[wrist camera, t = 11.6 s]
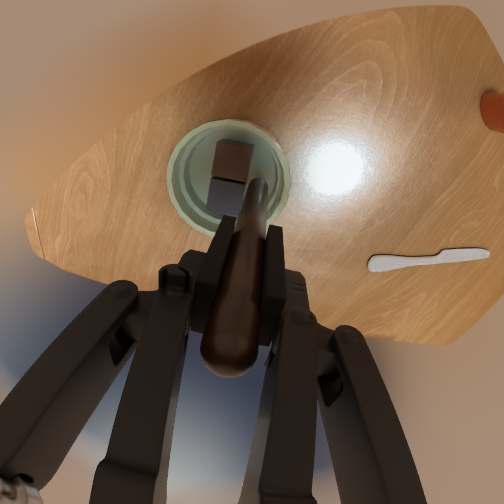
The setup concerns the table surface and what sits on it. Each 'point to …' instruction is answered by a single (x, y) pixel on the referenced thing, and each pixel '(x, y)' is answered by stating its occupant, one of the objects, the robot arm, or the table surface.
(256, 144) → the bowl
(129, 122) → the table surface
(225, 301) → the stick
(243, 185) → the block
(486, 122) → the holder
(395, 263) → the butter knife
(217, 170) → the block
